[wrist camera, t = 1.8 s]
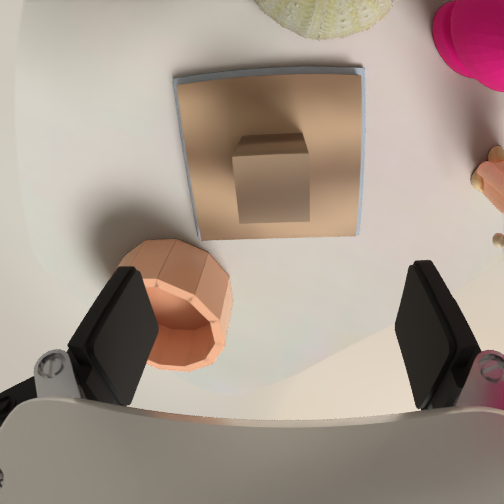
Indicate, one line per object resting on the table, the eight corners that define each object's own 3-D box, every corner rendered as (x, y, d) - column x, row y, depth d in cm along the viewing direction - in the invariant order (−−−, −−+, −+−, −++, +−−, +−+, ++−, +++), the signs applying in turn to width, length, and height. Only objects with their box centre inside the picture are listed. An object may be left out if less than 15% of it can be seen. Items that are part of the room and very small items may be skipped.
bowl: (107, 241, 28) (79, 278, 23) (223, 236, 27) (211, 278, 22) (139, 327, 34) (123, 365, 29) (237, 330, 33) (231, 373, 28)
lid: (180, 84, 20) (148, 93, 15) (357, 74, 18) (384, 80, 13) (203, 234, 26) (185, 279, 21) (353, 229, 25) (369, 275, 20)
